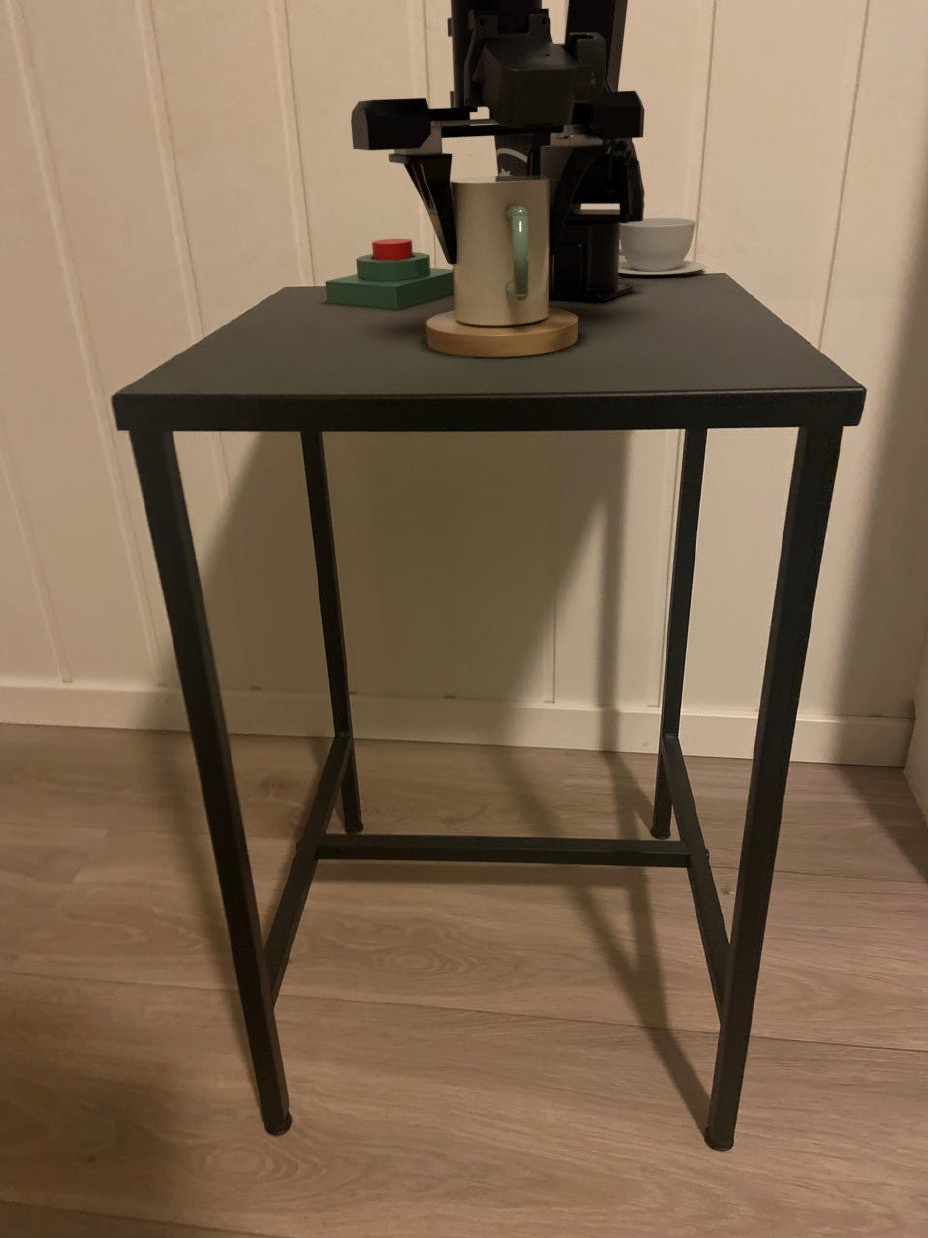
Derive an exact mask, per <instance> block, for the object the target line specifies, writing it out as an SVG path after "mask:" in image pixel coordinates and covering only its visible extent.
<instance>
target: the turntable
mask: <svg viewBox="0 0 928 1238" xmlns="http://www.w3.org/2000/svg"><path fill="white" fill-rule="evenodd" d="M425 332H426V333H425V334H426V335H425V336H426V345H427V346H428V347H429V348H430V349H432V350H434V351H436V352H439V353H442V354H449V355H452V356H453V355H454V356H461V357H472V358H494V359H495V358H518V357H529V356H536V355H537V356H538V355H543V354H549V353H554V352H557V351H562V350H564V349H568V348H570V347H572V346H574V345H575V344H576V343H577V341H578V340H579V317H578V315H576V314H575V313H573V312H571V311H568V310H564V309H560V308H555V307H549V316H548V317H547V318H545V319H543V320H540V321H536V322H532V323H526V324H518V325H502V326H488V325H474V324H467V323H463V322H460V321H457V320H456V319H455V312H454V310H450V311H445V312H442V313H439V314H436V315H433V316H431V317H429V318H428V319H427V320H426V321H425Z"/></svg>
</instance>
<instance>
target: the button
mask: <svg viewBox="0 0 928 1238" xmlns="http://www.w3.org/2000/svg"><path fill="white" fill-rule="evenodd" d="M371 249H372V254H373V260H400V259H409V258H413V240H411V239H409V238H385V239H377V240H373V241H372V242H371Z"/></svg>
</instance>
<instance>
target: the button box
mask: <svg viewBox="0 0 928 1238" xmlns="http://www.w3.org/2000/svg"><path fill="white" fill-rule="evenodd" d="M355 262H356V273H355V274H351V275H346V276H343V277H342V276H341V277H338V278H333V279H330V280H325V291H326V300H327V301H326V303H328V304H339V305H350V306H361V307H371V308H384V309H393V310H398V309H403V308H406V307H410V306H413V305H415V304H416V305H417V304H420V303H423V302H427V301H431V300H433V299H438V298H440V297H445V296H448V295H451V294H454V286H453V268H451V269H449V268H437V267H436V268H435V267H431V260H430V254H428V253H423V252H415V251H414V252H413V258H409V259H400V260H373V253H372V254H371V253H370V254H365V255H361V256H359V257H358V258H356V260H355Z"/></svg>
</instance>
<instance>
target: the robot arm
mask: <svg viewBox="0 0 928 1238" xmlns="http://www.w3.org/2000/svg"><path fill="white" fill-rule="evenodd" d="M628 2H629V0H568V4H567V13H566V24H565V31H564V32H565V34H564V43H554V42H553V38H552V33H551V22H552V21H551V18H550V8H547V7H546V8H543V0H450V17H448V18H447V19H446V20H447V21H446V22H447V37H448V38H451V45H452V47H451V49H452V50H451V51H452V73H453V90H450V91H449V99H450V100H449V101H450V102H449V103H450V107H439V108H438V107H437V108H435V107H434V108H429V104H428V101H427V98H426V97H415V98H414V97H413V98H412V97H411V98H385V99H383V98H381V99H368V100H367V99H366V100H360V101H358V102H357V104H356V105H355V107H354V108H353V109H352V111H351V118H350V119H351V120H350V125H351V137H352V138H351V139H352V148H353V150H361V151H390V150H393V153H388V161H389V163H394V164H401V165H403V166H404V168H405V170H406V172H407V174H408V176H409V178H410V180H411V182H412V183H413V185H414V188H415V189H416V192H417V193H418V194H419V196H420V199H421V201H422V203H423V205H424V208H425V210H426V212H427V215H428V218H429V220H430V222H431V225H432V228H433V230H434V232H435V233H434V234H435V235H436V237H437V238H436V239H437V240H438V243H439V245H440V248H441V251H442V253H443V256H444V258H445V261H446V263H447V264H449V265H451V266H453V265H455V264H456V263H457V238H456V229H455V220H454V211H453V203H452V194H451V186H450V181H451V174H452V166H453V165H452V164H453V153H448V152H443V139H452V138H453V139H454V138H475V137H494V136H500V135H522V134H533V140H532V144H531V147H530V149H529V152H528V156H527V165H526V171H527V176H546V177H549V178H550V249H549V257H552V256H553V285H552V286H551V287H549V299H557V300H569V301H581V302H582V301H583V302H598V303H599V302H600V303H601V302H602V303H603V302H606V301H609V300H611V299H614V298H617V297H620V296H622V295H625V294H628V293H630V292H633V290H634V289H633V286H634V285H632V284H622V283H621V284H619V273H618V270H619V262H620V255H619V249H620V247H621V242H620V222H621V223H624V224H627V223H630V222H639V221H643V218H644V209H645V188H644V183H643V179H642V172H641V164H640V161H639V159H638V155H637V151H636V146H635V144H634V142H633V139H639V138H640V139H641V138H644V131H645V130H644V128H645V108H644V104H643V102H642V99H641V98H640V96H639V94H638V92H637V91H636V90H619V84H620V75H621V66H622V58H623V57H622V56H623V47H624V40H625V30H626V21H627V12H628V4H629V3H628ZM479 108H487V109H488V118H471V113H478V112H479ZM492 124H493V125H492ZM571 204H581V205H618V206H619V209H618V208H616V209H615V208H614V209H613V208H610V209H608V208H606V209H605V208H603V209H601V208H600V209H599V208H593V209H592V208H590V209H589V208H588V209H587V208H581V209H569V208H570V205H571Z"/></svg>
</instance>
